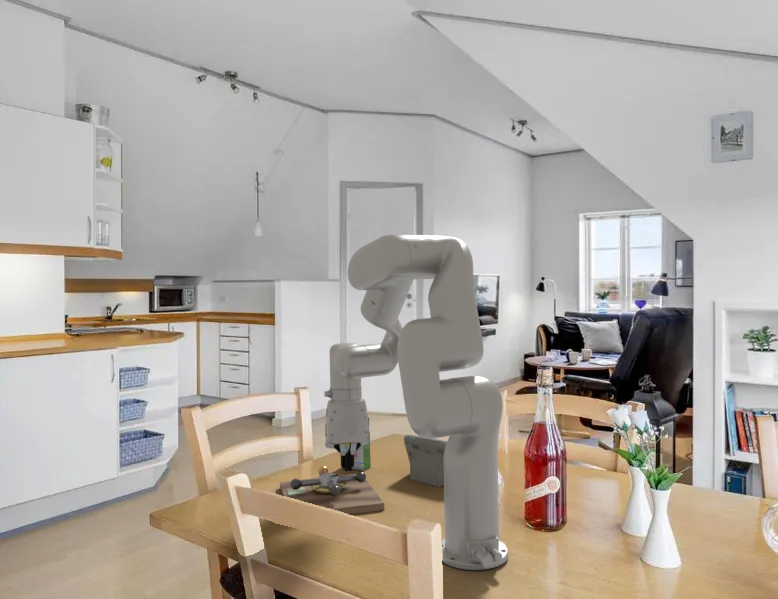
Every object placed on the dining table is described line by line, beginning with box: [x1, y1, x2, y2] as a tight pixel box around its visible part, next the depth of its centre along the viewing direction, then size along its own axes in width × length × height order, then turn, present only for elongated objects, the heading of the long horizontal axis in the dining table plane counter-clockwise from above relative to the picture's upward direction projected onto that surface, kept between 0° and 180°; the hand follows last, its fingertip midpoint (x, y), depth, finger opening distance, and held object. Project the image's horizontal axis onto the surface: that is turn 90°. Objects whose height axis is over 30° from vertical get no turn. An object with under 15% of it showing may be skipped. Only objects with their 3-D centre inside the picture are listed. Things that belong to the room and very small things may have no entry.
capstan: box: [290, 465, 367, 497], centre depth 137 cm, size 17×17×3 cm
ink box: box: [345, 416, 372, 472], centre depth 161 cm, size 7×4×13 cm, turn 61°
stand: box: [279, 473, 385, 515], centre depth 137 cm, size 22×20×2 cm
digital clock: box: [403, 434, 448, 488], centre depth 149 cm, size 16×9×11 cm, turn 39°
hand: (347, 469), depth 146 cm, fingers closed
